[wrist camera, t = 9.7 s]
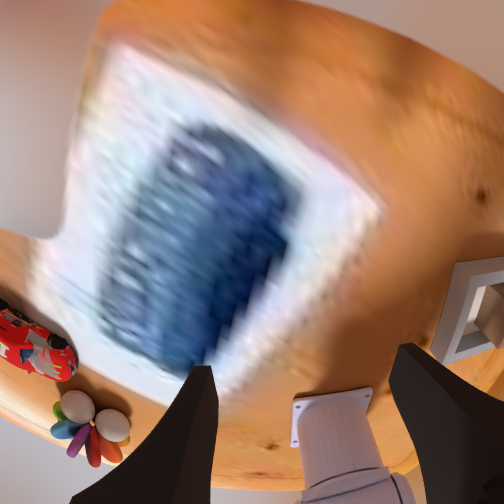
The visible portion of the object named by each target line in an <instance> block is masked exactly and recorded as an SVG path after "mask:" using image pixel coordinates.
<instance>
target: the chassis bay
mask: <svg viewBox="0 0 504 504" xmlns="http://www.w3.org/2000/svg"><path fill="white" fill-rule="evenodd" d="M502 282H504V256H502V257H495V258H487V259H480V260H472V261H464V262H456V263H454V268H453V272H452V277H451V281H450V285H449V289H448V293H447V297H446V301H445V304H444V308H443V311H442V315H441V318H440V321H439V325H438V328H437V331H436V334H435V337H434V340H433V343H432V346H431V348H430V351H431V352H432V354H433V355H434V356H435V358H436V359H437V361H438V362H439V363H441V364H442V365H446V364H450V363H453V362H456V361H459V360H462V359H465V358H468V357H471V356H473V355H476V354H479V353H482V352H484V351H487V350H490V349H492V348H495V346H494V344H493V343H492V342H491V341H490V340H489V339H488V338H487V337H486V335H485V334H484V333H483V332H482V331H481V330H480V329H479V328H478V327H477V326H476V325H475V323H474V322H475V320H476V317H477V314H478V311H479V308H480V305H481V302H482V298H483V295H484V292H485V288H486V286H488V285H493V284H497V283H502Z"/></svg>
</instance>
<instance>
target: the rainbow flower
mask: <svg viewBox="0 0 504 504" xmlns="http://www.w3.org/2000/svg"><path fill="white" fill-rule="evenodd" d="M53 413H54V415H55V417H56V418H57V419H58V422H57V423H56V424H54V425H53V426H52V427H51V434H52V435H53V436H54V437H55V438H58V439H72V441H71V443H70V445H69V447H68V449H67V454H68V456H70V457H72V458H74V457H75V456H76V455H77V454H78V452H79V451H80V449H81V448H82V446H83V445H84V444H85V449H86V455H87V458H88V462H89V464H90V465H91V466H92V467H95V468H96V467H99V466H100V463H101V455H102V456H103V457H104V458H106V459H107V460H109V461H110V462H113V463H120V462H121V461H122V459H123V455H122V452H121V450H120V448H119V447H124V446H127V445H128V444H129V442H130V436H129V433H130V425H129V422H128V420H127V418H126V417H125V416H124V415H123V414H122V413H121V412H119V411H117V410H114V409H105V410H102V411H101V412H99V413H98V414H97V415H96V418H95V426H92V425H91V424H90V421H91V420H92V419H93V417H94V415H95V407H94V404H93V402H92V400H91V398H90V397H89V396H88V395H87V394H85V393H83V392H81V391H78V390H71V391H68V392H66V393H65V394H64V395H63V396H62V398H61V401H58V402H56V403H55V404H54V406H53Z"/></svg>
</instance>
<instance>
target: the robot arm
mask: <svg viewBox="0 0 504 504" xmlns="http://www.w3.org/2000/svg"><path fill="white" fill-rule="evenodd" d="M388 381H389V385H390V388H391V391H392V395H393V398H394V401H395V403H396V406H397V408H398V410H399V412H400V414H401V417H402V419H403V421H404V423H405V425H406V428H407V430H408V432H409V434H410V437H411V439H412V441H413V444H414V446H415V449H416V452H417V456H418V460H419V463H420V467H421V472H422V476H423V481H424V486H425V493H426V501H427V504H504V402H503V401H501V400H498V399H496V398H494V397H492V396H490V395H488V394H486V393H484V392H482V391H481V390H479V389H477V388H475V387H474V386H472V385H470V384H469V383H467V382H466V381H464V380H463V379H461V378H460V377H458V376H457V375H456V374H454V373H453V372H451V371H450V370H449V369H447V368H446V367H445V366H443V365H442V364H441V363H439V362H438V361H437V360H435V359H434V358H433V357H431V356H430V355H429V354H427V353H426V352H425V351H424V350H422V349H421V348H420V347H418V346H417V345H415V344H414V343H407V344H402V345H399V348H398V351H397V355H396V358H395V361H394V365H393V368H392V371H391V374H390V377H389V380H388ZM372 394H373V389H372V388H371V387H368V388H363V389H357V390H352V391H346V392H340V393H334V394H327V395H320V396H312V397H304V398H297V399H295V400H294V401H293V409H292V426H291V442H290V445H291V447H299V448H300V455H301V461H302V468H303V475H304V482H305V489H306V490H302V500H297V501H296V502H295V503H294V504H416V502H415V499H414V495H413V492H412V489H411V487H410V484H409V482H408V480H407V479H406V477H405V476H404V475H402V474H399V473H398V472H394V473H392V474H390V473H389V469H388V467H387V466H385V467H384V465H383V462H382V459H381V456H380V453H379V450H378V447H377V444H376V442H375V439H374V436H373V433H372V430H371V427H370V424H369V421H368V419H367V416H366V411H367V408H368V406H369V403H370V400H371V397H372ZM218 408H219V400H218V395H217V391H216V387H215V382H214V378H213V373H212V369H211V366H194V367H193V368H192V369H191V371H190V373H189V375H188V377H187V379H186V381H185V382H184V384H183V386H182V388H181V389H180V391H179V393H178V394H177V396H176V398H175V399H174V401H173V402H172V404H171V405H170V407H169V408H168V410H167V411H166V413H165V414H164V416H163V417H162V418H161V420H160V421H159V422H158V424H157V425H156V426H155V428H154V429H153V430H152V431H151V433H150V434H149V435H148V436H147V437H146V438H145V440H144V441H143V442H142V443H141V444H140V445H139V446H138V447H137V448H136V449H135V450H134V451H133V452H132V453H131V454H130V455H129V456H128V457H127V458H126V459H125V460H124V461H123V462H122V463H121V464H119V465H118V466H117V467H116V468H115V469H113V470H112V471H111V472H109V473H108V474H107V475H105V476H104V477H103V478H102V479H100V480H99V481H97V482H96V483H94V484H93V485H91V486H90V487H88V488H86V489H85V490H83V491H81V492H80V493H78V494H76V495H74V496H73V497H72V499H71V501H70V503H69V504H210V486H211V471H212V464H213V457H214V450H215V443H216V436H217V428H218Z"/></svg>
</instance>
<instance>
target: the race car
mask: <svg viewBox="0 0 504 504" xmlns="http://www.w3.org/2000/svg"><path fill="white" fill-rule="evenodd" d="M66 344H67V342H66V340H65V339H63V338H61V337H59V336H58V335H57V334H53V335H51V336H50V332H49V331H48V330H46V329H44V328H43V327H41V326H39V325H38V324H36V323H35V322H33V321H32V320H30V319H28V318H27V317H25V316H24V315H22V314H21V313H19V312H18V311H16V310H15V309H13V308H12V307H11V306H8V305H7V302H4V301H3V300H2V299H0V356H1V357H3V358H4V359H5V360H7V361H8V362H10V363H11V364H13V365H15V366H17V367H19V368H21V369H24V370H28V374H30V373H31V371H32V372H36V373H39V374H41V375H43V376H45V377H48V378H50V379H52V380H55V381H59V382H64V381H67V380H69V379H71V378H72V377H73V376H74V375H75V373H76V372H77V369H78V362H77V358H76V355H75V354H74V352H73V350H72V348H71V347H70V346H69V345H68V346H67V347H66Z"/></svg>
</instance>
